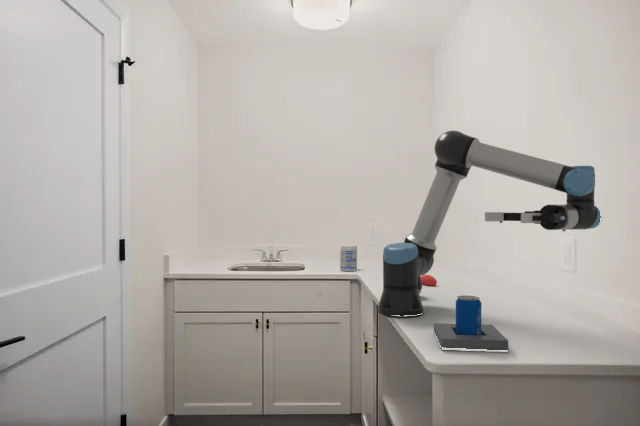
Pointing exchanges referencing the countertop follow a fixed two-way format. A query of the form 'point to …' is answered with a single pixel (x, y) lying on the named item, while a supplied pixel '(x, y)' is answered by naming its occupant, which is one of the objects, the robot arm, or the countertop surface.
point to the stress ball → (428, 280)
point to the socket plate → (470, 338)
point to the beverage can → (468, 315)
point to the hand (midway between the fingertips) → (502, 217)
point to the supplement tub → (348, 258)
